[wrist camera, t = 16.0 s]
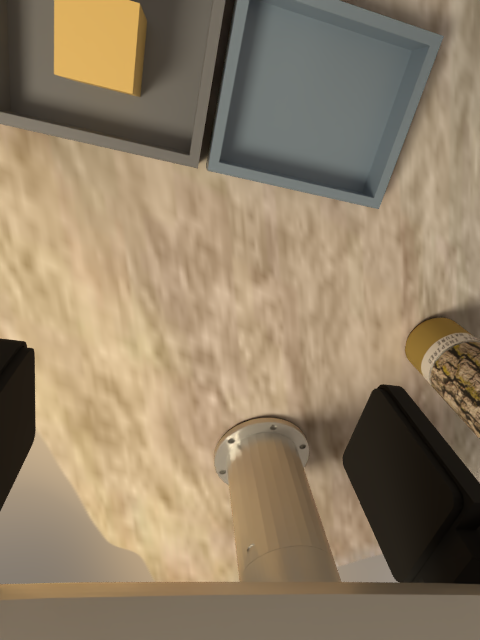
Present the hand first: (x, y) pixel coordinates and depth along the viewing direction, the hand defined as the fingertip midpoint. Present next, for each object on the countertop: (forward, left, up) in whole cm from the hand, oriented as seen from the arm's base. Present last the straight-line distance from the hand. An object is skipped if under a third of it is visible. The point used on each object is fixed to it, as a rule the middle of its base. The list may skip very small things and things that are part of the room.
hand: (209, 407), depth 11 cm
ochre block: (+10, +8, -28) cm, 31 cm away
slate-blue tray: (+10, -8, -28) cm, 31 cm away
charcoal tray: (+10, +8, -28) cm, 31 cm away
